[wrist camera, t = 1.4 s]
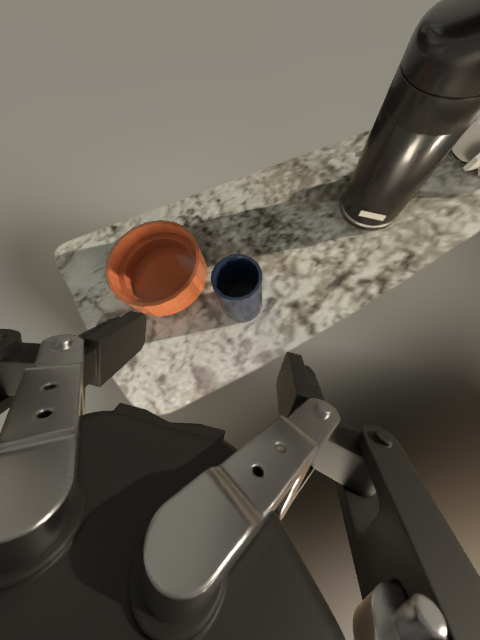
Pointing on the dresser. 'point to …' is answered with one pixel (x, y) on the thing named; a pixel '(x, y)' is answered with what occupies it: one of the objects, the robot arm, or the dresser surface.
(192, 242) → the bowl
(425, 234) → the dresser surface
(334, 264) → the dresser surface
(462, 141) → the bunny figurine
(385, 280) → the dresser surface
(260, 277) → the blue cup
